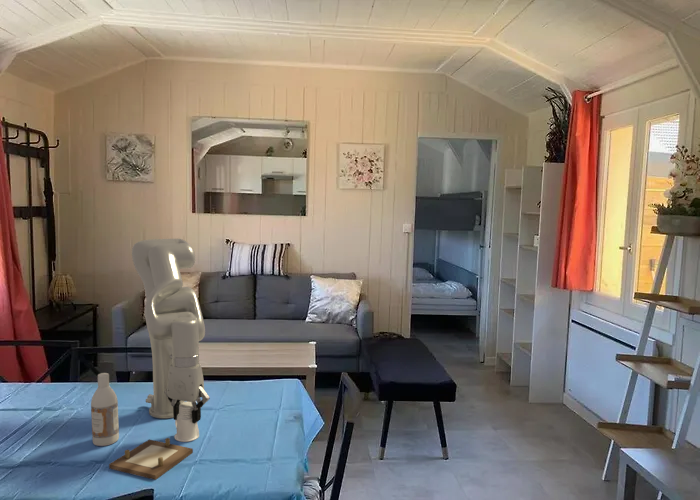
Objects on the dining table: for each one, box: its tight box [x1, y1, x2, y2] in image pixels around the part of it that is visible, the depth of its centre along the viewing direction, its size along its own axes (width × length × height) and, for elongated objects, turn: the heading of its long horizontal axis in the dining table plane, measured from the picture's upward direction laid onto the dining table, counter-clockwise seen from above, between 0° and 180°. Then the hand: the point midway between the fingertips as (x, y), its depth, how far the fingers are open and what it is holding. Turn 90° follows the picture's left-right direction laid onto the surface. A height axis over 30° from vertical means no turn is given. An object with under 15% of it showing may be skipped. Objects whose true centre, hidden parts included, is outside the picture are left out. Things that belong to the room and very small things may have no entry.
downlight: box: [173, 401, 200, 443], centre depth 157 cm, size 8×7×10 cm
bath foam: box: [90, 372, 120, 447], centre depth 153 cm, size 7×7×20 cm
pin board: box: [108, 437, 194, 481], centre depth 143 cm, size 15×15×3 cm
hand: (187, 419), depth 157 cm, fingers closed on downlight, 5 cm apart
